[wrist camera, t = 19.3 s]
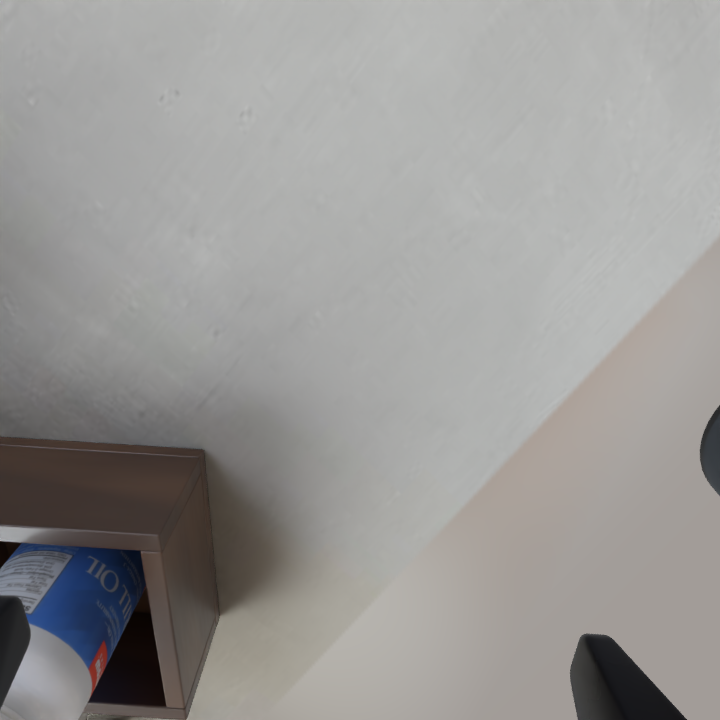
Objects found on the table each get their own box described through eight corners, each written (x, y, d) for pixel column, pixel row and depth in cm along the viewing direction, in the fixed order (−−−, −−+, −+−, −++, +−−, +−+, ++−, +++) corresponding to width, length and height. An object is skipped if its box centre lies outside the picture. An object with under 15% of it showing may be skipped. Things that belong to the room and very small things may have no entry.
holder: (219, 617, 28) (186, 721, 23) (19, 603, 28) (-53, 704, 23) (204, 448, 23) (159, 535, 19) (-34, 434, 23) (-137, 516, 19)
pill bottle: (174, 581, 26) (65, 830, 17) (68, 591, 26) (-90, 837, 18) (136, 489, 24) (-13, 722, 15) (20, 502, 24) (-189, 732, 15)
